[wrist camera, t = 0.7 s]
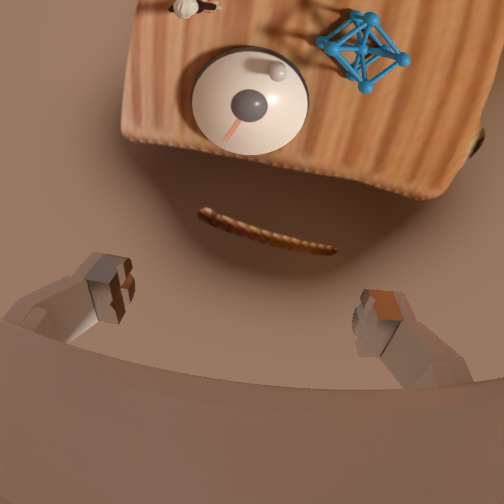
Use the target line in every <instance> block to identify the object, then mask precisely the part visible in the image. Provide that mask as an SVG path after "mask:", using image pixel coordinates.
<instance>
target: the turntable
mask: <svg viewBox="0 0 504 504" xmlns="http://www.w3.org/2000/svg"><path fill="white" fill-rule="evenodd" d="M307 104H308V103H307V95H306V91H305V88H304V86H303V83H302V81H301V79H300V78H299V76H298V74H297V73H296V72H295V71H294V69H293V68H292V67H290V66H289V65H288V64H287V63H286V62H284V61H283V60H281V59H280V58H278V57H276V56H273V55H271V54H268V53H264V52H260V51H240V52H235V53H231V54H228V55H226V56H223V57H221V58H220V59H218V60H216V61H215V62H214V63H212V64H211V65H210V66H209V67H208V68H207V69H206V70H205V71H204V72H203V74H202V75H201V76H200V78H199V79H198V81H197V83H196V86H195V89H194V92H193V97H192V109H193V114H194V118H195V120H196V123H197V125H198V127H199V128H200V130H201V131H202V132H203V134H204V135H205V136H206V137H207V138H208V139H209V140H210V141H211V142H213V143H214V144H215V145H217V146H219V147H220V148H222V149H225V150H227V151H230V152H233V153H237V154H243V155H258V154H264V153H268V152H271V151H274V150H276V149H278V148H281V147H282V146H284V145H285V144H287V143H288V142H289V141H290V140H292V139H293V138H294V137H295V136H296V134H297V133H298V132H299V130H300V129H301V127H302V125H303V123H304V120H305V118H306V114H307Z"/></svg>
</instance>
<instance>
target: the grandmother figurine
mask: <svg viewBox="0 0 504 504" xmlns="http://www.w3.org/2000/svg"><path fill="white" fill-rule="evenodd" d="M219 4H220V3H219V0H208V1H207V0H176V1H175V2H174V4H173V5H172V6H169V8H168V10H169V11H170V12H174V13H175V14H176V15H177V16H178V17H179V18H181V19H188V18H189V17H191V15H194V14H199V13H201V12H204V11H206V12H208V13H214V12H215V11H220V10H222V6H221V5H219Z"/></svg>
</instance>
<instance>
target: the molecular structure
mask: <svg viewBox="0 0 504 504" xmlns="http://www.w3.org/2000/svg"><path fill="white" fill-rule="evenodd" d="M349 18H350V19H349V20H347V21H346V22H344V23H343V24H342V25H340V26H339V27H338V28H337V29H335V30H334V31H333V32H331V33H330V34H329V35H327V36H326V37H325V36H319V37H317V38H316V40H315V44H316V46H317V47H318V48H321V49H324V52H325V53H326V54H327V55H329V56H333V57H334V58H335V59H336V60H337V61H338V62H339V63H340V64H341V66H342V67H343V68H344V69H345V70H346V77H347V79H348V80H350V81H357V82H358V89H359V91H360V92H361V93H364V94H369V93H371V92H372V91H373V84H374V83H375V82H377V81H378V80H379V79H381V78H382V77H383V76H385V75H386V74H388V73H389V72H390V71H392V70H393V69H394V68H396V67H397V66H399V65H400V66H402V67H406V66H408V65H409V64H410V57H409V56H408V55H407V54H406V53H404V52H400V51H399V50H398V49H397V47H396V46H395V45H394V43H393V42H392V41H391V39H390V38H389V37H388V36H387V34H386V33H385V32H384V31H383V29H382V28H381V27H380V26H379V25H378V24H379V17H378V16H377V15H376V14H375V13H373V12H367V13H365V14H364V16H363V15H362V13H361V12H359V11H356V10H354V11H351V12H350V14H349ZM362 20H363V21H364V22H363V21H362ZM352 22H354V23H355V26H356V27H355V28H354V29H353V30H351V31H350V32H349V33H347V34H346V35H345V36H343V37H342V38H341V39H339V40H338V41H337V42H334V41H329V39H331V38H332V37H333V36H335V35H336V34H337V33H339V32H340V31H341V30H343V29H344V28H345V27H347V26H348V25H349V24H351V23H352ZM371 27H375V28H376V29H377V30H378V32H379V33H380V34H381V35H382V36H383V38H384V39H385V40H386V41H387V43H388V44H389V45H390V47H391V48H392V49H393V51H394V52H395V53H396V54H395V53H393V52H392V51H391V48H390V47H389V46H388V45H382V43H381V42H380V41H379V40H378V38H377V37H376V36H375V35H374V34H373V32H372V31H371ZM363 28H364V29H365V31H364V35H363V38H362V35H361V29H363ZM356 33H357V39H358V43H356V44H355V46H353V45H348V44H343V43H344V42H345V41H347V40H348V39H349V38H351V37H352V36H353V35H355V34H356ZM369 35H370V36H371V37H372V38H373V40H374V41H375V42H376V43H377V45H378V46H379V48H368V46H367V45H366V41H367V38H368V36H369ZM340 51H355V53H356V54H357V56H356V59H355V62H354V65H353V68H352V66H351V65H350V64H349V63H348V62H347V61H346V60H345V59H344V58H343V56H342V55H341V54H340V53H339V52H340ZM368 53H371V54H375V56H373V57H372V58H371V59H369V60H368V61H367V62H365V55H367V54H368ZM381 56H383V57H387V58H391V59H395V60H396V62H394V63H393V64H392V65H390V66H389V67H387V68H386V69H385V70H383V71H382V72H381V73H379V74H378V75H376V76H375V77H374V78H372V79H371V80H370V81H369V80H367V72H366V67H367V66H368V65H370V64H371V63H372V62H374V61H375V60H377V59H378V58H379V57H381ZM360 61H361V66H360V67H359V68H357V67H358V64H359V62H360ZM360 71H362V78H361V77H360V76H359V72H360Z"/></svg>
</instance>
